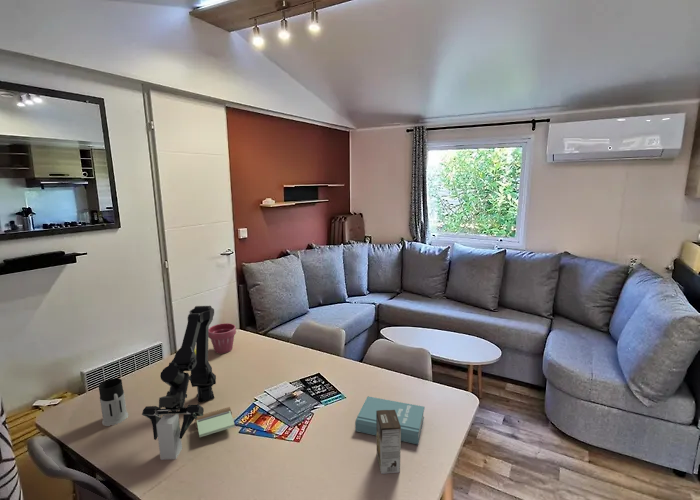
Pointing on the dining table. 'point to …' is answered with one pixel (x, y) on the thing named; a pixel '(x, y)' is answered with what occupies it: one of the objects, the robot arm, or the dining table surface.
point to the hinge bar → (212, 414)
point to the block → (169, 437)
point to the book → (406, 414)
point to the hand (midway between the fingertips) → (167, 439)
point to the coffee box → (388, 441)
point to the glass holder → (112, 402)
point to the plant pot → (222, 337)
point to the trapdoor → (215, 423)
